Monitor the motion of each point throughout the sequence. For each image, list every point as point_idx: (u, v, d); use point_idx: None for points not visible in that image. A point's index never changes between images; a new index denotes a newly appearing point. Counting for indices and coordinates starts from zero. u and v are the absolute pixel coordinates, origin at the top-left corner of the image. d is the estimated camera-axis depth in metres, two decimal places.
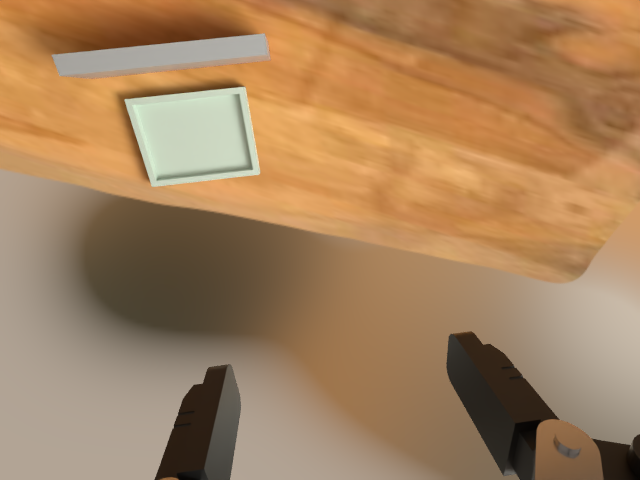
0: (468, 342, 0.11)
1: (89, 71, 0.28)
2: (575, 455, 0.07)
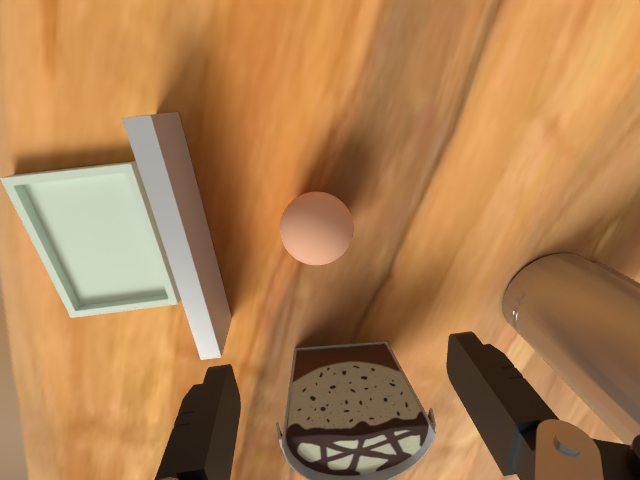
0: (468, 342, 0.11)
1: (138, 163, 0.19)
2: (575, 455, 0.07)
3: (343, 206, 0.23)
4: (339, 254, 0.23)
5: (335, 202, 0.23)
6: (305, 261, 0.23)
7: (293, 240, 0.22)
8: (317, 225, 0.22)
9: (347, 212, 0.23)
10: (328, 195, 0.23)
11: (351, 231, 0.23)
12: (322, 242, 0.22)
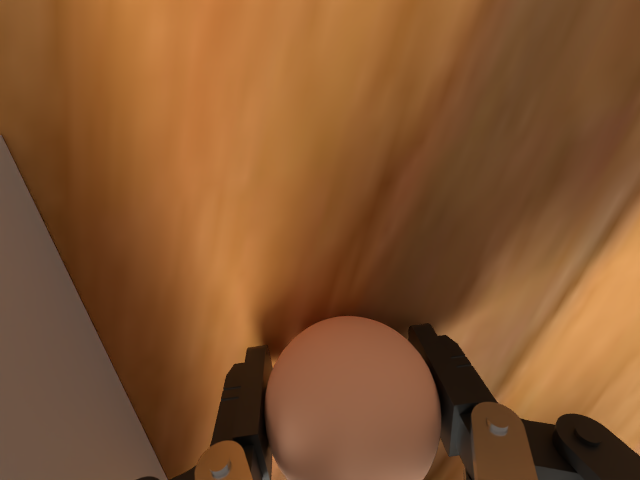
0: (424, 333, 0.12)
1: None
2: (502, 433, 0.08)
3: (421, 371, 0.09)
4: None
5: (405, 368, 0.09)
6: None
7: (297, 477, 0.08)
8: (364, 457, 0.08)
9: (431, 385, 0.09)
10: (384, 343, 0.09)
11: (440, 430, 0.09)
12: None
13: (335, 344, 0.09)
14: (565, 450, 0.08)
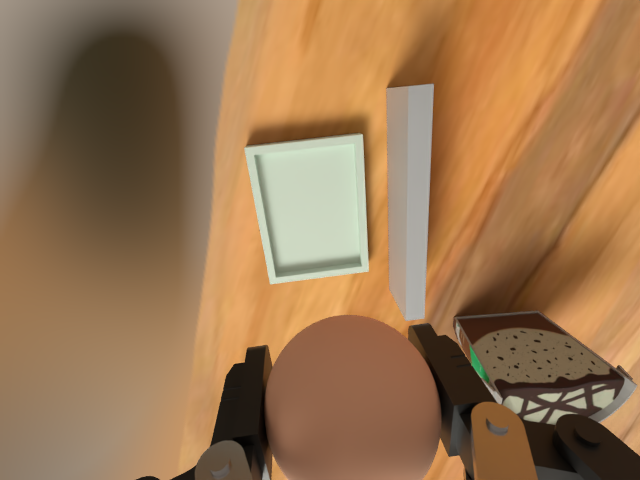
0: (424, 333, 0.12)
1: (409, 129, 0.21)
2: (502, 433, 0.08)
3: (421, 369, 0.09)
4: None
5: (404, 367, 0.09)
6: None
7: (296, 477, 0.08)
8: (363, 455, 0.08)
9: (431, 384, 0.09)
10: (384, 341, 0.09)
11: (440, 429, 0.09)
12: None
13: (335, 343, 0.09)
14: (565, 450, 0.08)
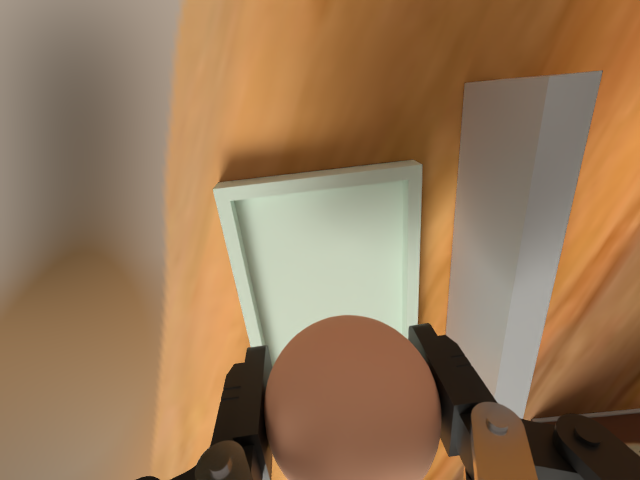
0: (424, 333, 0.12)
1: (537, 164, 0.10)
2: (502, 433, 0.08)
3: (421, 369, 0.09)
4: None
5: (405, 367, 0.09)
6: None
7: (296, 477, 0.08)
8: (363, 455, 0.08)
9: (431, 384, 0.09)
10: (384, 341, 0.09)
11: (440, 429, 0.09)
12: None
13: (335, 343, 0.09)
14: (565, 450, 0.08)
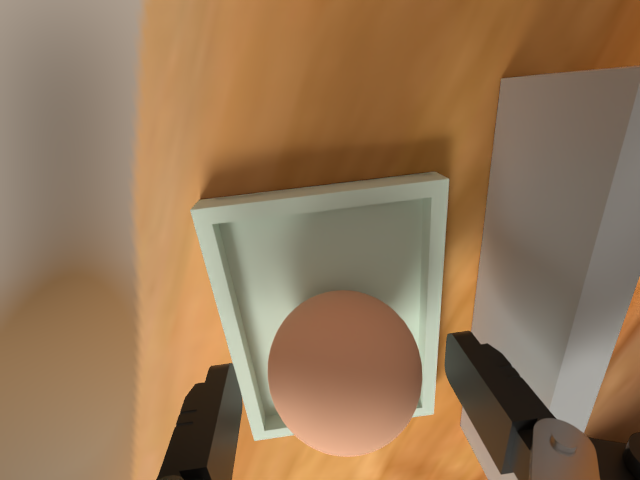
0: (466, 341, 0.11)
1: (614, 186, 0.08)
2: (571, 454, 0.07)
3: (404, 333, 0.11)
4: None
5: (389, 330, 0.10)
6: None
7: (296, 422, 0.10)
8: (353, 400, 0.09)
9: (413, 346, 0.11)
10: (372, 309, 0.11)
11: (421, 386, 0.11)
12: (364, 435, 0.09)
13: (329, 310, 0.11)
14: (636, 466, 0.07)
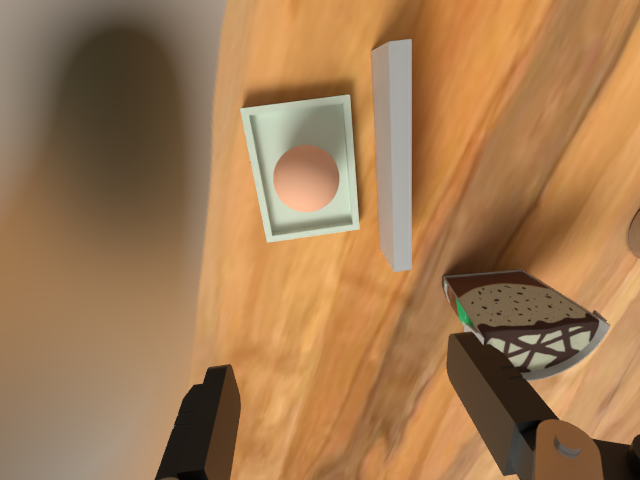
0: (468, 342, 0.11)
1: (391, 83, 0.23)
2: (575, 455, 0.07)
3: (329, 156, 0.26)
4: (326, 200, 0.26)
5: (322, 152, 0.25)
6: (296, 207, 0.26)
7: (284, 186, 0.25)
8: (305, 170, 0.24)
9: (333, 162, 0.26)
10: (315, 147, 0.26)
11: (337, 179, 0.26)
12: (310, 186, 0.24)
13: (298, 146, 0.26)
14: (639, 468, 0.07)
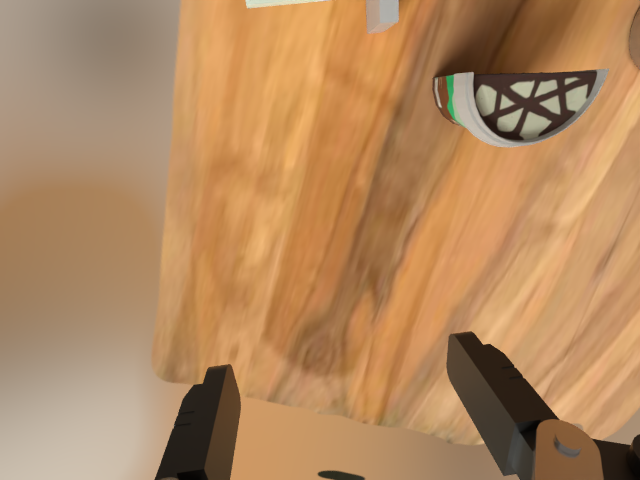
0: (468, 342, 0.11)
1: None
2: (575, 455, 0.07)
3: None
4: None
5: None
6: None
7: None
8: None
9: None
10: None
11: None
12: None
13: None
14: None
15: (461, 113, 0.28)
